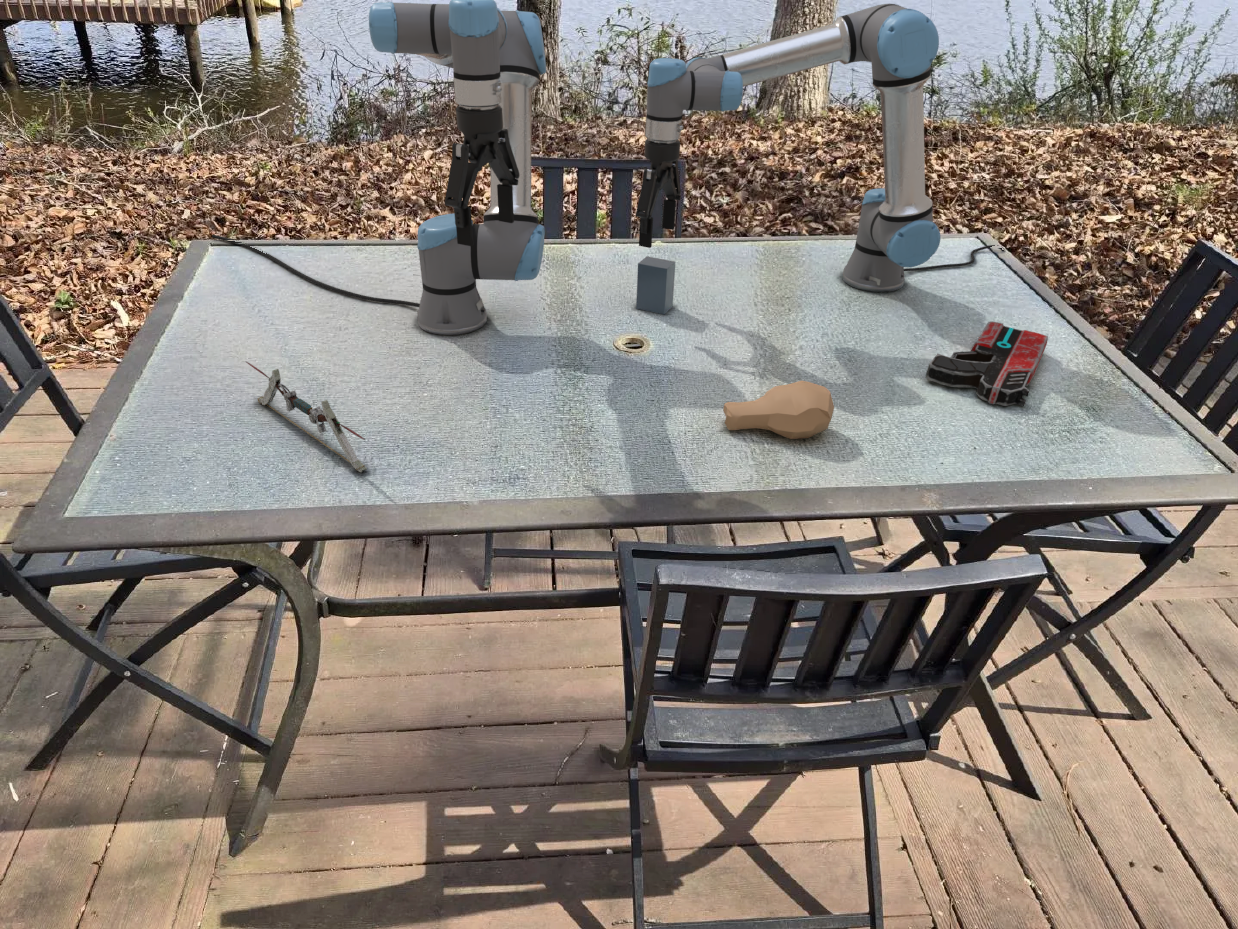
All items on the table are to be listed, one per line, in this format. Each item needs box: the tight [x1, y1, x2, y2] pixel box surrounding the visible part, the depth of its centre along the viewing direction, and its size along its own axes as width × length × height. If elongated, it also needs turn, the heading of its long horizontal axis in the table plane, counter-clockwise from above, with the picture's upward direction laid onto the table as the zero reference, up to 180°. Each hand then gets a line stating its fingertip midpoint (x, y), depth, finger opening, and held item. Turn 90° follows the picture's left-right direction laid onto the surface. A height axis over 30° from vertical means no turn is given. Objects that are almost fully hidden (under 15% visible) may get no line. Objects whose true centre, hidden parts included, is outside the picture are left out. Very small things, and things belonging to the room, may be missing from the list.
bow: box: [244, 360, 368, 473], centre depth 153 cm, size 39×2×10 cm, turn 47°
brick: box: [635, 256, 676, 315], centre depth 203 cm, size 7×5×11 cm
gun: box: [925, 320, 1049, 407], centre depth 183 cm, size 4×31×19 cm
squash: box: [722, 380, 835, 440], centre depth 159 cm, size 11×20×9 cm, turn 90°
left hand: (486, 232), depth 154 cm, fingers open, 13 cm apart
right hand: (657, 237), depth 197 cm, fingers open, 13 cm apart
